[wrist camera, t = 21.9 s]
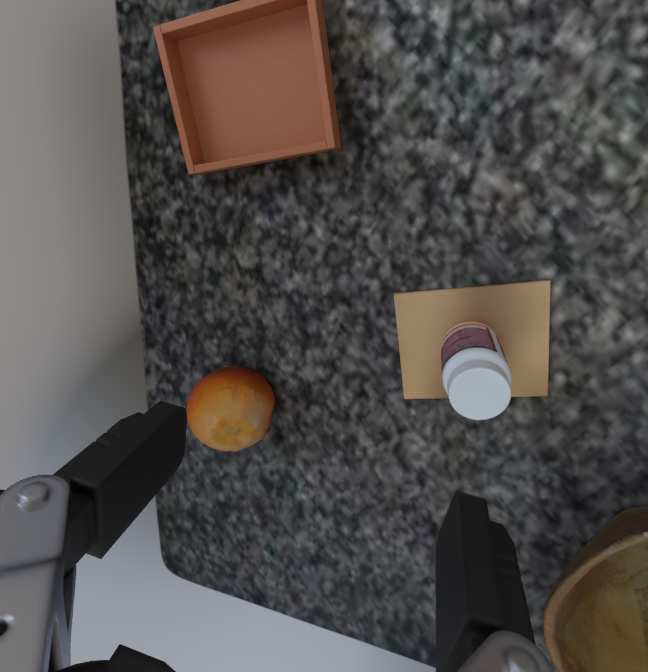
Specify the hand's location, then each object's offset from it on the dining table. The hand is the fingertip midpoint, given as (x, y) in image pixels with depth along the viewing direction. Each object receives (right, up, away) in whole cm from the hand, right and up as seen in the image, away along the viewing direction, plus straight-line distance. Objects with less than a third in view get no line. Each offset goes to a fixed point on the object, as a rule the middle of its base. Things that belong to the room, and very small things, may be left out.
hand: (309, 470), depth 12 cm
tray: (-5, +23, +21) cm, 31 cm away
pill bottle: (+13, +3, +24) cm, 28 cm away
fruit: (-8, -2, +32) cm, 33 cm away
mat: (+13, +3, +24) cm, 28 cm away
